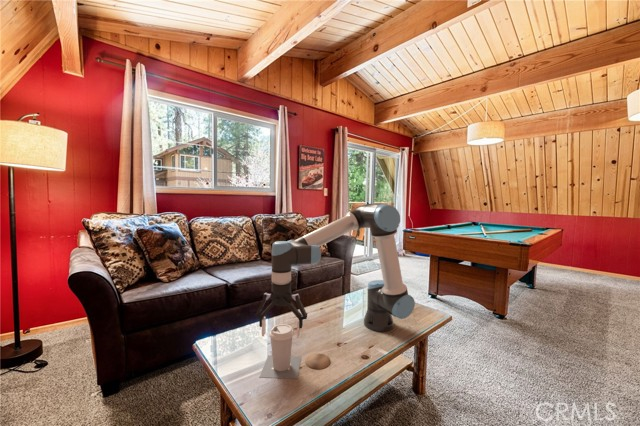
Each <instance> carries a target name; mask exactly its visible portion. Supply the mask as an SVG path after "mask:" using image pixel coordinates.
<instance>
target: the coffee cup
mask: <svg viewBox="0 0 640 426" xmlns="http://www.w3.org/2000/svg"><path fill="white" fill-rule="evenodd" d="M268 334H269V335H268V336H269V338H270V344H271V345H270V347H271V354H272V358H273V368H274V369H275V370H277V371H285V370H287V369H288V368H289V367H290V360H291V356H292V346H293V337H294V335H295V332H294V330H293V327H292V325H289V324H287V323H286V324H285V323H281V324H276V325H274V326H273V327H272V328H270V331H269V333H268Z"/></svg>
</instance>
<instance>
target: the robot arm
mask: <svg viewBox="0 0 640 426" xmlns="http://www.w3.org/2000/svg"><path fill="white" fill-rule="evenodd" d="M400 223H401V215H400V211H398V209H397V208H396V207H394V205H391V204H387V203H366V204H363V205H361V206H358V207H357V208H354V209H352V210H350V211H348V212H347V213H346V214H345V216H343V217H341V218H338V219H336V220H334V221H332V222H330V223H327V224H325V225H324V226H322V227H320V228H317V229H315V230H313V231H311V232H310V233H307V234H305V235H303V236H301V237H299V238H297V239H290V240H287V241H286V240H280V241H279V240H277V241H274V242H273V243H272V245H271V293H268V292H266V291H265V292H264V293H263V295H262V300H261V303H260V304H259V306H258V308H257V310H256V311H255V312H256V313H254V317H255V318H257V319H258V320H259V321H258V322H259V325H258V326H259V328H261V337H265V335H266V327H267V326H266V323H267V322H266V315H267V314H268V313H269V311H270V310H271V309H272V308H273V307H274V306H276V307H287V308H288V309H289V310H290V311H291V313H293V314H294V316H295V317H296V318H297V321H296V338H297V339H299V338H300V333H301V329H302V328H303V325H304V324H303V323H304V322H303V320H308V319H307V318H308V313H307V311H306V309H305V307H304V305H303V302H302V300H301V298H300V297H301V296H300V294H299V293H295V294H292V282H291V281H292V266H304V265H315V264H319V263H320V262H321V259H322V251H321V248H320V247H321V246H324V245H326V244H328V243H330V242H331V241H334V240H336V239H338V238H340V237H341V236H344V235H346V234H347V233H349V232H351V231H358V230H360V229H368V228H369V230H370V234H371V237H373V238H375V243H376V248H377V254H378V260H379V264H380V265H379V266H380V269H381V275H382V279H378V280H377V279H376V280H370V281H369V282H368V284H367V310H366V311H365V315H364V318H363V325H364V326H365V328H367V329H369V330H371V331H375V332H388V331H391V330H392V329H393V328H394V320H393V317H395V318H397V319H400V320H402V319H403V320H404V319H406V318H409V316H411V314H412V313H413V311H414V310H415V306H416V305H415V303H416V301H415V298H414V297H413V296H411V295H410V294H409V292H408V287H407V285H406V284H405V283H403V275H402V272H401V271H402V270H401V266H400V261H399V260H400V259H399V255H398V250H397V249H398V247H397V242H396V237H395V235H396V234H397V233H398V228H399V227H400ZM269 299H270V300H271V303H270V304H269V305H268V306H267V307H266V308H265V309H264V311H262V309H263V308H264V305H265V303H266V301H268V300H269ZM292 299H293V300H294V301H295V302H296V303H295V304H296V305H297V308H298V309H299V310H298V309H297V308H296V306H295V305H294V304H293V301H291V300H292ZM261 311H262V312H261Z"/></svg>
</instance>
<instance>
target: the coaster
mask: <svg viewBox="0 0 640 426" xmlns="http://www.w3.org/2000/svg"><path fill="white" fill-rule="evenodd" d="M330 364H331V359H330V357H329V356H327V355H326V354H324V353H312V354H310V355H308V356H306V358H305V365H306V366H307V367H308V368H310V369H313V370H323V369H326V368H327V367H329V365H330Z"/></svg>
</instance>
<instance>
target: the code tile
mask: <svg viewBox="0 0 640 426" xmlns="http://www.w3.org/2000/svg"><path fill="white" fill-rule="evenodd" d="M301 361H302V356H299V355H298V356H297V355H291V360H290V367H289V368H288V369H287V370H285V371H277V370H275V369H274V368H273V358H272V355H271V354H268V355H267V358H266V360H265V362H264V364H263V367H262V370H261V372H260V374H259V378H264V379H267V378H268V379H292V380H293V379H295V380H297V379H298V376H299V373H300V372H299V370H300V366H301Z"/></svg>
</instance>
